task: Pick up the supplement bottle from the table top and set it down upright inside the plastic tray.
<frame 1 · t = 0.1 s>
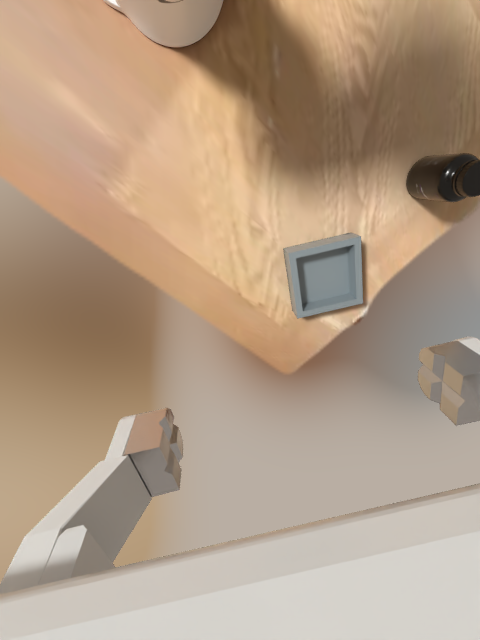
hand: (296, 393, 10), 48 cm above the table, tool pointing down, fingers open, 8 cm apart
tray: (320, 273, 59), on the table
supplement bottle: (422, 178, 53), on the table
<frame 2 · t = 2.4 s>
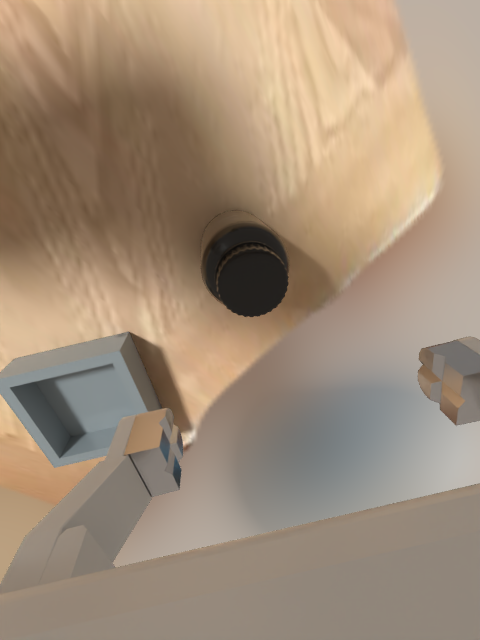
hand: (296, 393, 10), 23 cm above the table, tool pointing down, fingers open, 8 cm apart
tray: (96, 390, 36), on the table
supplement bottle: (235, 245, 30), on the table
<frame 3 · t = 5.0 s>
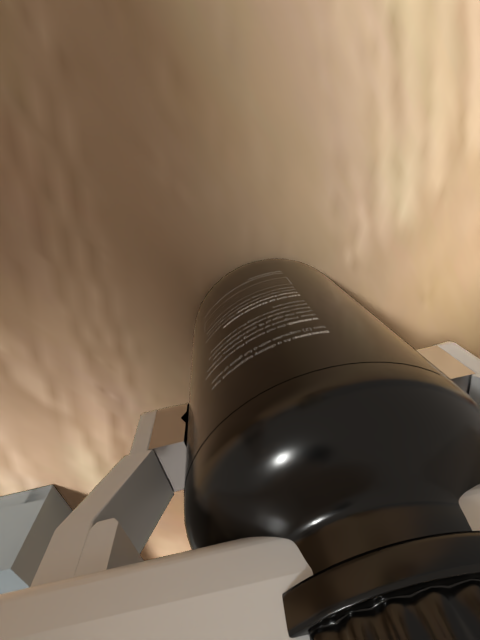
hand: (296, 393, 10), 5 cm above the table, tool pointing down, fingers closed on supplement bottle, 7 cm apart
tray: (3, 570, 20), on the table
supplement bottle: (269, 326, 14), on the table, touching gripper
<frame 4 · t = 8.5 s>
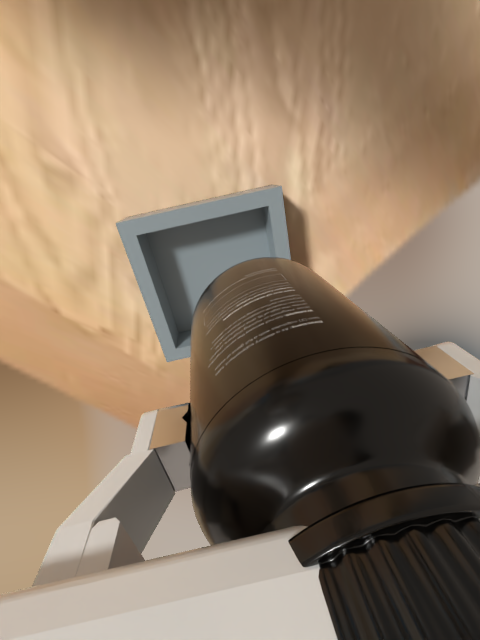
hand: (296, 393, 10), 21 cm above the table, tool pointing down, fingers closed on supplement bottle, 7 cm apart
tray: (216, 270, 29), on the table
supplement bottle: (262, 322, 15), point 16 cm above the table, touching gripper
when the fingers open (7 cm above the table, at t = 12.4 s): supplement bottle drops 1 cm, resting on tray.
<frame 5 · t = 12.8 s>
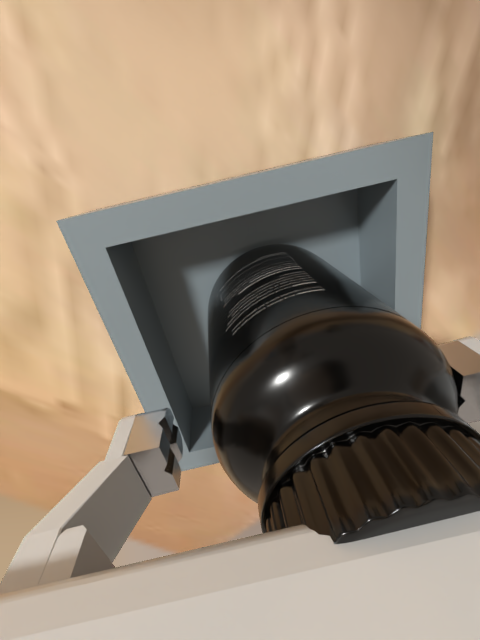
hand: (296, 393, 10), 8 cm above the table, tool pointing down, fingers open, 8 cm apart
tray: (260, 304, 17), on the table
supplement bottle: (272, 305, 16), point 1 cm above the table, touching gripper, tray
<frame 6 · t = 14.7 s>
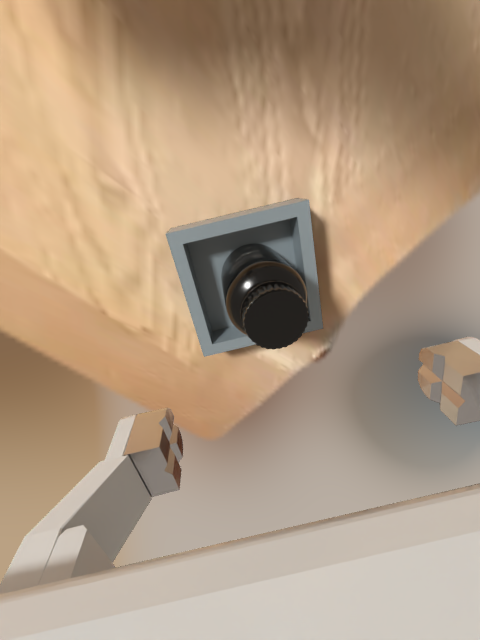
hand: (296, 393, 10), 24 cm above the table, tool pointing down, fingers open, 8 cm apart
tray: (246, 274, 33), on the table
supplement bottle: (252, 274, 32), point 1 cm above the table, touching tray
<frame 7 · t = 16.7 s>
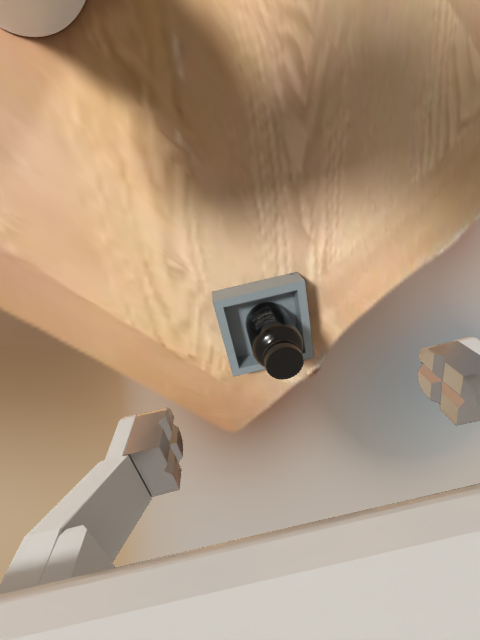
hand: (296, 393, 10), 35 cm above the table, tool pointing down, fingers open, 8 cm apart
tray: (262, 319, 48), on the table
supplement bottle: (266, 320, 47), point 1 cm above the table, touching tray
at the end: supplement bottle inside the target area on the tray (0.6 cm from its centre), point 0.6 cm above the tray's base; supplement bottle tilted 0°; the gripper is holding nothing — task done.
